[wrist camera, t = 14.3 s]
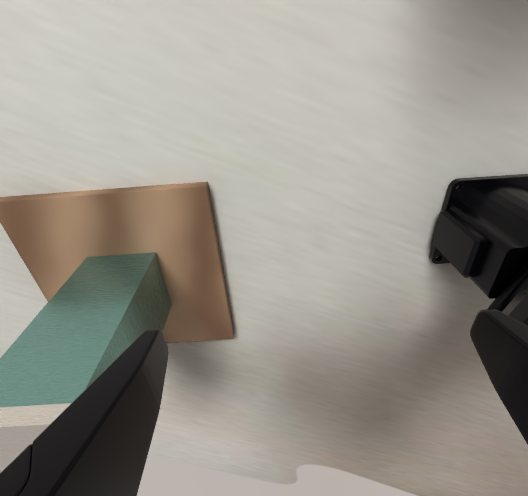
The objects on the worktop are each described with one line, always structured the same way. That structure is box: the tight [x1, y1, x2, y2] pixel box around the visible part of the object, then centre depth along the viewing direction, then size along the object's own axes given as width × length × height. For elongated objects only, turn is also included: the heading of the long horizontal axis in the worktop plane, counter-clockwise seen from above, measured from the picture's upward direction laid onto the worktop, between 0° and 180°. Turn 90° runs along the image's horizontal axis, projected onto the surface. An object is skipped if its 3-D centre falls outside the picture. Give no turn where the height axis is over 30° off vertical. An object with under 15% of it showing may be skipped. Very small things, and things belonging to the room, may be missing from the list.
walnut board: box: [0, 182, 234, 343], centre depth 24 cm, size 14×14×2 cm
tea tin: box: [0, 252, 172, 473], centre depth 18 cm, size 5×5×12 cm
